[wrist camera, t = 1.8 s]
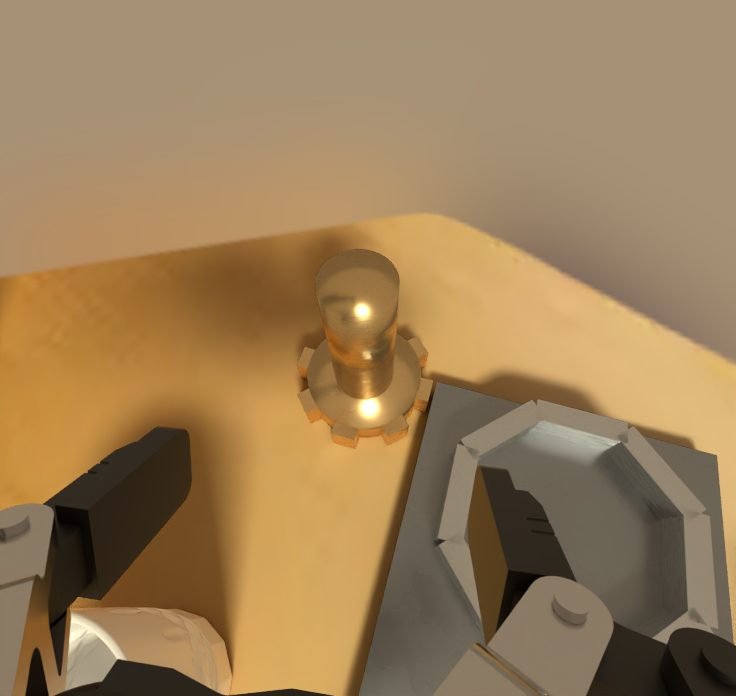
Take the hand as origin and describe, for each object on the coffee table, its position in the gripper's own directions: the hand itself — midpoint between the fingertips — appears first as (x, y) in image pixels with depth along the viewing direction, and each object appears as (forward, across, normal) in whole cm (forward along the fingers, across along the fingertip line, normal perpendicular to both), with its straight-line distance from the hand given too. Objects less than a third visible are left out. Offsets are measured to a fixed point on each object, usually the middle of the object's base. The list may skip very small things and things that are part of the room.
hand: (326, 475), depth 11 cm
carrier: (+9, -10, +10) cm, 17 cm away
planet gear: (+16, 0, +4) cm, 16 cm away
